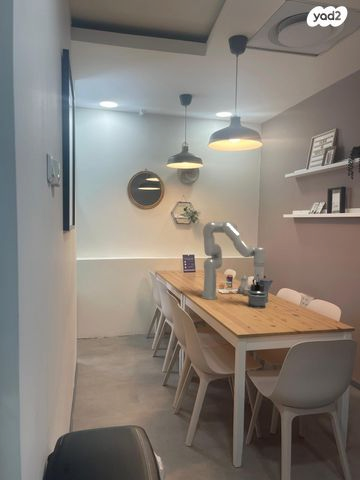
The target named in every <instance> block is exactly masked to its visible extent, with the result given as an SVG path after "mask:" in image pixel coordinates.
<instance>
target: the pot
mask: <svg viewBox="0 0 360 480" xmlns="http://www.w3.org/2000/svg"><path fill="white" fill-rule="evenodd" d="M248 295H249V296H248V304H247V307H249V308H252V309H266V307H267V306H266V303H267V302H266V294H253V293H248ZM265 302H266V303H265Z"/></svg>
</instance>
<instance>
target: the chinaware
mask: <svg viewBox="0 0 360 480" xmlns="http://www.w3.org/2000/svg"><path fill="white" fill-rule="evenodd" d="M240 281H241V282H240V284H239V286H238V287H237V291H238V293H239V294H241V295H246V296H247V297H249V295H248V293H249V292H248V289H251V285H249V283H248V281H249V277H248V276H246V274H244V275H242V276H241V277H240Z"/></svg>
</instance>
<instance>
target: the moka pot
mask: <svg viewBox="0 0 360 480" xmlns="http://www.w3.org/2000/svg"><path fill="white" fill-rule="evenodd" d="M255 281H256V279H255ZM255 281H254V278H253V279H252V284H256V282H255ZM273 282H274V281H273V280H272V279H269V278H267V276H265V275H263V277H261V281H260V285H264V290H265V291H267V293H266V302H265V304H267V303H268V302H269V290H270V286H271V285H272V283H273Z"/></svg>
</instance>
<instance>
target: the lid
mask: <svg viewBox="0 0 360 480" xmlns="http://www.w3.org/2000/svg"><path fill="white" fill-rule="evenodd" d="M255 284H256V283H255ZM255 284H253V283H251V284H250V286H251V289H248V292H249V293H253V294H266V293H267V291H265V290H264V285H260V290H259V291H256V290H255Z"/></svg>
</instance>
